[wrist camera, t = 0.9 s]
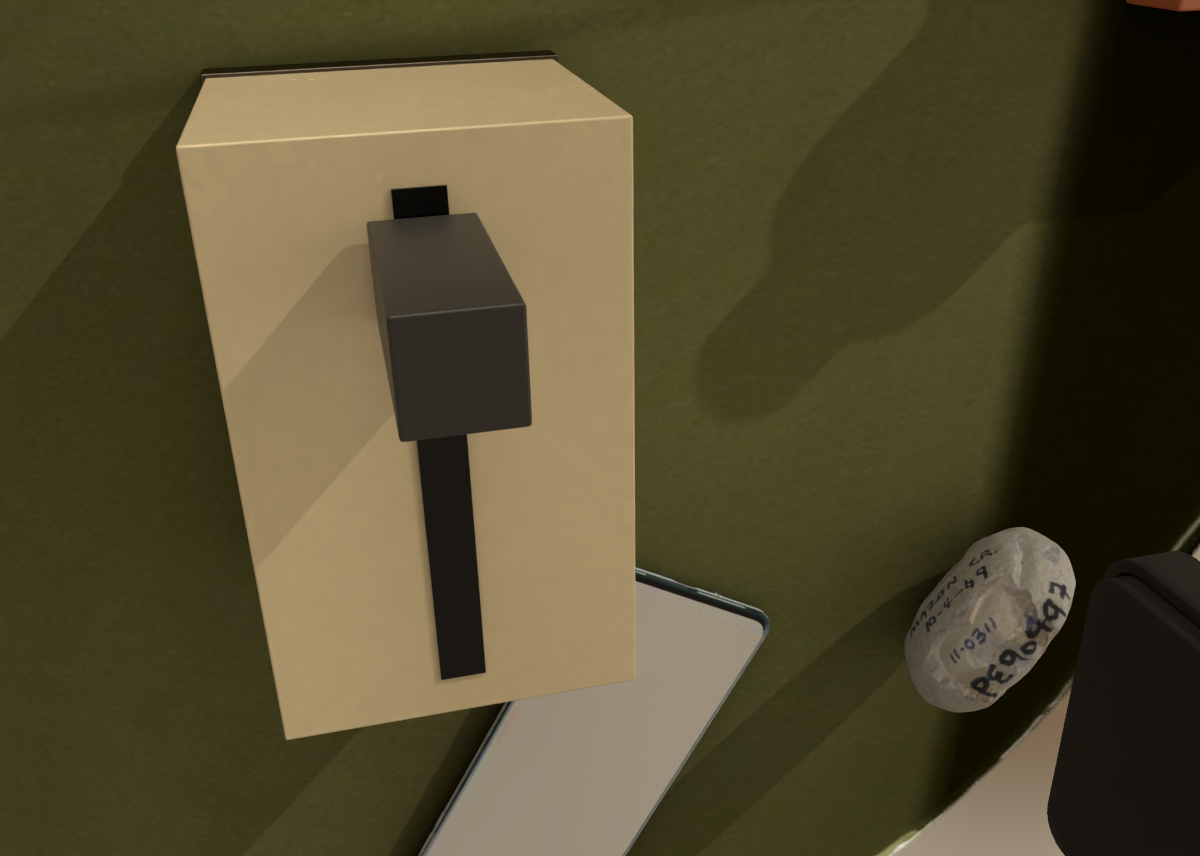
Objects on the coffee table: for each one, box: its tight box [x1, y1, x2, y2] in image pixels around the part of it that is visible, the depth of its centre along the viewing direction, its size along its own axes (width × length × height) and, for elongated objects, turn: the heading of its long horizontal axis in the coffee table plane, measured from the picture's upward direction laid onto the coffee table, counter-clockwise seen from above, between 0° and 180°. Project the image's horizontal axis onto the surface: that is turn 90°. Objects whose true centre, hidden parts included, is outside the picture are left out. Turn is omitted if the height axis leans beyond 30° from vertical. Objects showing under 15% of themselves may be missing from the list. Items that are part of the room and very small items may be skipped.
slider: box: [367, 213, 532, 442], centre depth 19 cm, size 2×2×5 cm
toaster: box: [176, 50, 636, 740], centre depth 26 cm, size 13×8×8 cm, turn 1°
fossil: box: [904, 527, 1076, 712], centre depth 36 cm, size 6×3×5 cm, turn 150°
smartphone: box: [418, 567, 770, 856], centre depth 37 cm, size 7×1×15 cm
